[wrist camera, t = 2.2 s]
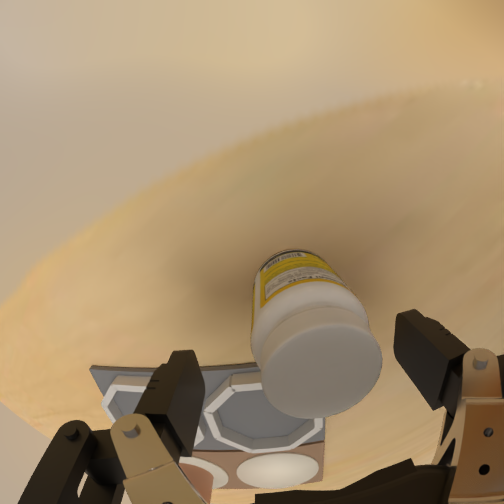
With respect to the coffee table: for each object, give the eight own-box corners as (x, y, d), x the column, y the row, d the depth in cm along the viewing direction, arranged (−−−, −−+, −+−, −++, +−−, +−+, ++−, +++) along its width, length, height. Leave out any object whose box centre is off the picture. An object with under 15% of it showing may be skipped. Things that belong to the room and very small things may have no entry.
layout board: (323, 352, 17) (358, 458, 8) (321, 477, 21) (331, 539, 12) (91, 365, 18) (36, 434, 9) (166, 480, 22) (150, 535, 13)
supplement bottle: (307, 334, 16) (336, 436, 8) (239, 304, 16) (222, 404, 8) (347, 269, 15) (418, 342, 7) (277, 232, 15) (298, 285, 7)
